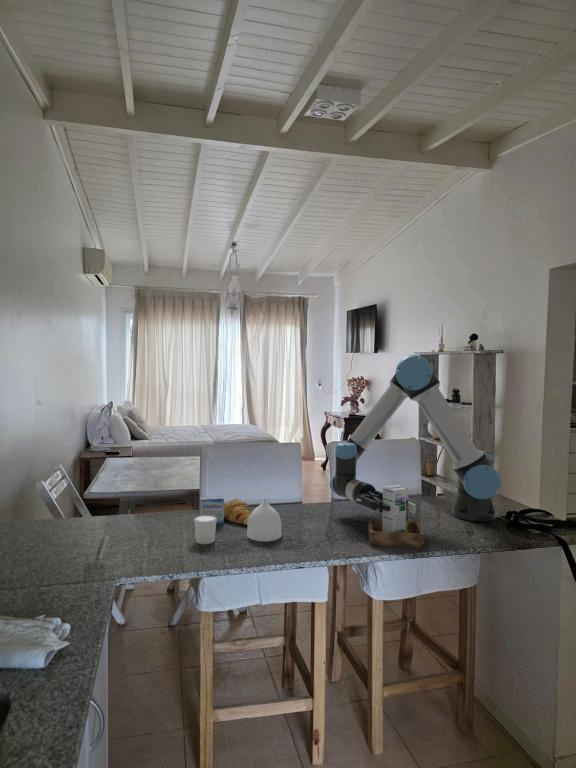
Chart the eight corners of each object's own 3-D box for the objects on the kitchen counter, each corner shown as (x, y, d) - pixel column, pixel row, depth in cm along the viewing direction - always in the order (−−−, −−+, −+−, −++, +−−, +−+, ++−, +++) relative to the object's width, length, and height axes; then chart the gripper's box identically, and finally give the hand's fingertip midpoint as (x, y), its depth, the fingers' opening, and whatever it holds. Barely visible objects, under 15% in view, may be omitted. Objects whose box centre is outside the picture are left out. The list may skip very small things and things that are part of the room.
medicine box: (200, 525, 169) (200, 499, 169) (199, 521, 173) (199, 496, 173) (224, 523, 171) (224, 498, 171) (222, 520, 175) (222, 495, 175)
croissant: (257, 535, 170) (267, 513, 171) (233, 526, 165) (244, 503, 167) (230, 518, 188) (239, 498, 189) (208, 509, 183) (217, 488, 184)
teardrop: (265, 527, 167) (266, 492, 167) (288, 536, 160) (289, 498, 159) (239, 535, 160) (240, 497, 159) (262, 544, 152) (263, 504, 152)
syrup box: (393, 536, 154) (394, 489, 153) (381, 531, 159) (382, 485, 158) (408, 534, 156) (409, 488, 156) (395, 528, 161) (396, 483, 161)
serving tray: (418, 534, 163) (418, 521, 163) (423, 548, 150) (424, 534, 150) (368, 531, 165) (368, 519, 165) (369, 545, 152) (370, 531, 152)
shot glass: (220, 538, 156) (220, 516, 156) (209, 546, 150) (210, 522, 149) (200, 536, 158) (200, 513, 158) (189, 543, 152) (189, 520, 152)
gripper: (382, 500, 178) (429, 518, 157) (338, 506, 169) (381, 526, 148) (383, 479, 177) (430, 494, 157) (338, 484, 169) (382, 501, 148)
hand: (406, 510), depth 153 cm, fingers closed on syrup box, 6 cm apart
